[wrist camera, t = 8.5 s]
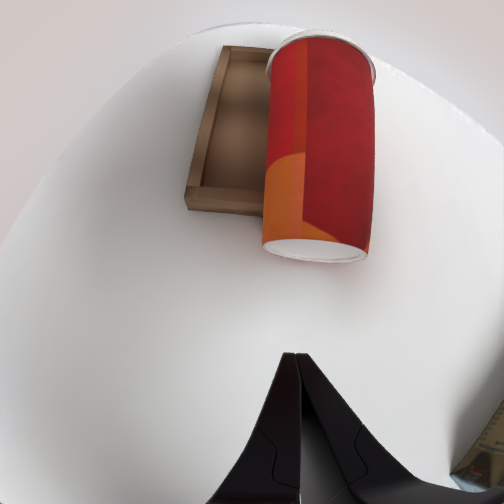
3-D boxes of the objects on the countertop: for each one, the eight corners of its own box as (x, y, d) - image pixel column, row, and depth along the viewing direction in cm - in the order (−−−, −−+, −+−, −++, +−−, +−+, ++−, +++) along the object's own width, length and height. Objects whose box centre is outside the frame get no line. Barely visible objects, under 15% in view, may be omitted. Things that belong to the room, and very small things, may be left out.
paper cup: (387, 268, 17) (378, 92, 19) (390, 234, 10) (364, 18, 13) (270, 262, 20) (287, 100, 23) (209, 231, 14) (249, 36, 16)
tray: (360, 228, 19) (371, 217, 18) (188, 209, 19) (184, 196, 17) (341, 75, 24) (346, 62, 23) (223, 59, 24) (223, 45, 22)
